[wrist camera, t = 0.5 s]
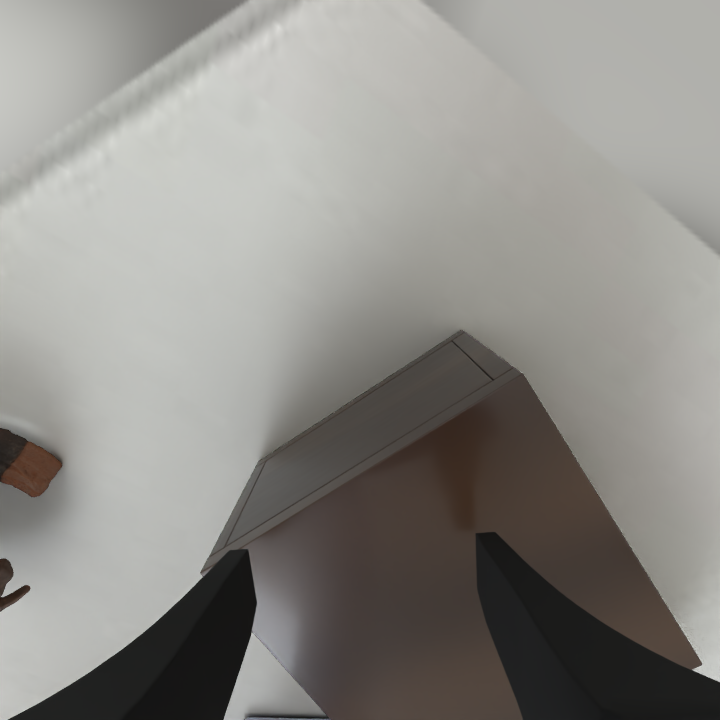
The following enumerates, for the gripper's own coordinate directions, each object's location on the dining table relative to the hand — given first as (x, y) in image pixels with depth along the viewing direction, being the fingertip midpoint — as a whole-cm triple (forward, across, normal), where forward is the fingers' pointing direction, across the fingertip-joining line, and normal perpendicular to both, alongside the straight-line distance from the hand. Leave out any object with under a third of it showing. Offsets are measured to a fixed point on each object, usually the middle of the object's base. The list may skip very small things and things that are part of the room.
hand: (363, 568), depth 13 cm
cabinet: (+10, -3, +4) cm, 11 cm away
